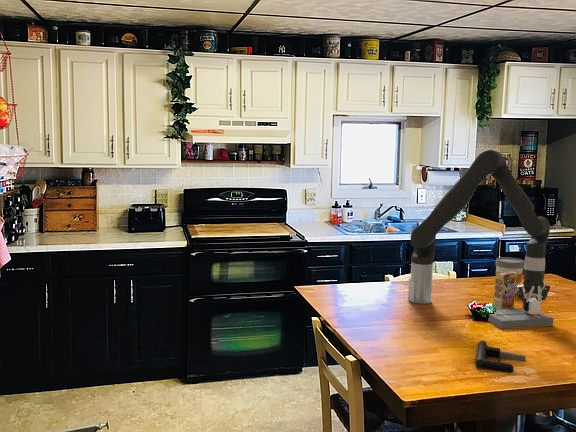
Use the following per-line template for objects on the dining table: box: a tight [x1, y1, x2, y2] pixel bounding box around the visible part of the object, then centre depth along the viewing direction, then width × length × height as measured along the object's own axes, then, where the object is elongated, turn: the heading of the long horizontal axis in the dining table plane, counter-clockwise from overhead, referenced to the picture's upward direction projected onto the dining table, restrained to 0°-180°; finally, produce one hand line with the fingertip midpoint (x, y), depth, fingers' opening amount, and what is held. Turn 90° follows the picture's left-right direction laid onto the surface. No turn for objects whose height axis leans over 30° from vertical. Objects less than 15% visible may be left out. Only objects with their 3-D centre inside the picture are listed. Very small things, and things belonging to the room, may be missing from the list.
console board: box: [487, 307, 555, 330], centre depth 236 cm, size 22×14×3 cm, turn 101°
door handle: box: [474, 339, 526, 373], centre depth 195 cm, size 3×20×16 cm
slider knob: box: [523, 297, 542, 314], centre depth 237 cm, size 4×5×5 cm
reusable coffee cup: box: [494, 256, 525, 295], centre depth 281 cm, size 12×13×15 cm
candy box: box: [492, 271, 517, 310], centre depth 254 cm, size 9×4×15 cm, turn 123°
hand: (531, 310), depth 237 cm, fingers closed on slider knob, 4 cm apart
